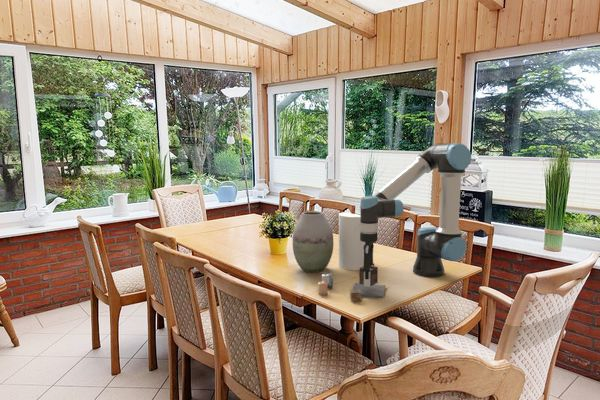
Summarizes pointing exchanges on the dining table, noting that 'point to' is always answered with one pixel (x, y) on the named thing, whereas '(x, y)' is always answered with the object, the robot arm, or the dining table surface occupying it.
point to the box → (372, 275)
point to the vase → (312, 242)
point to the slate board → (370, 290)
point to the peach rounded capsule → (322, 288)
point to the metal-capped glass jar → (328, 279)
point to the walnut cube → (355, 295)
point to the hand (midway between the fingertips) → (368, 282)
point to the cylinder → (350, 242)
